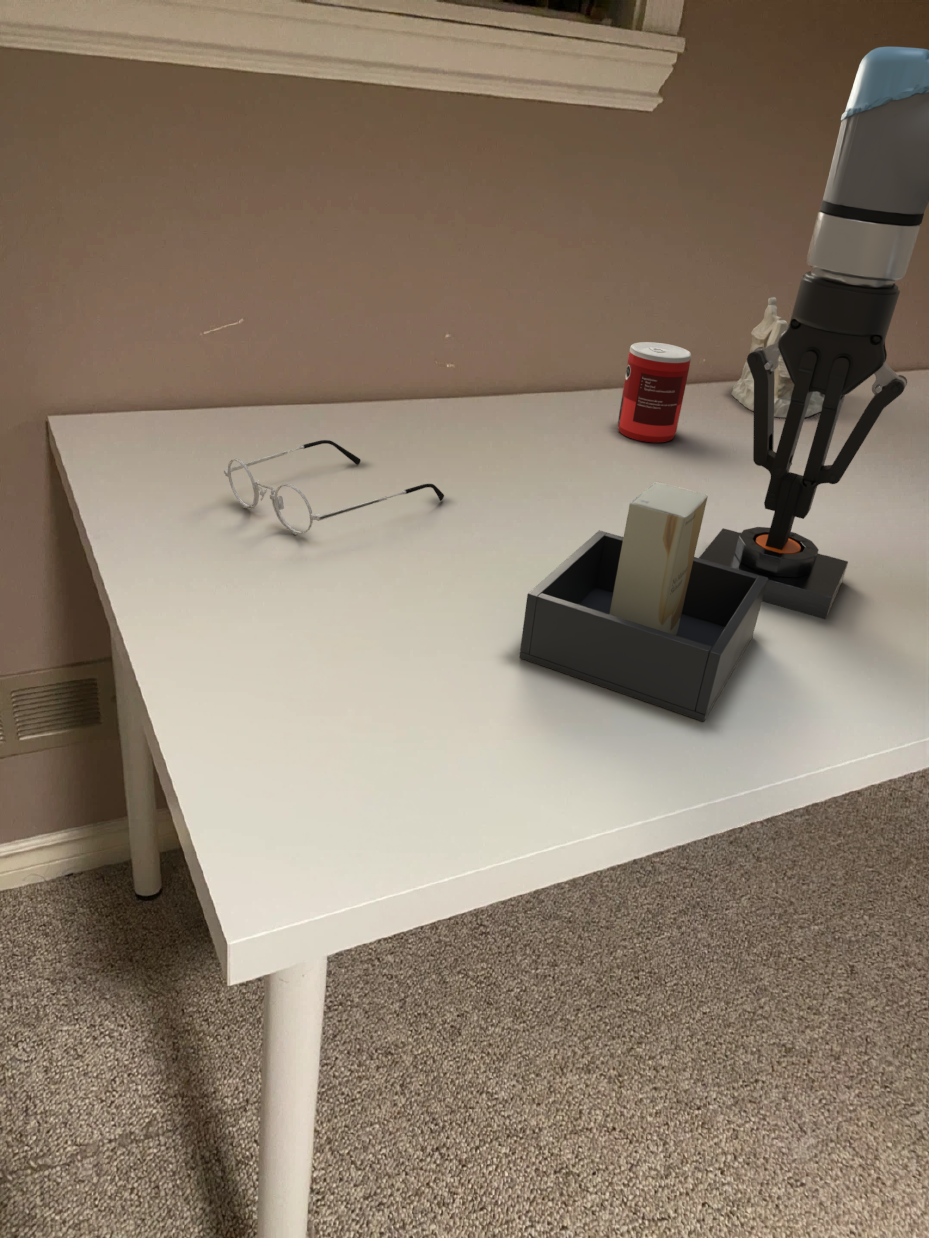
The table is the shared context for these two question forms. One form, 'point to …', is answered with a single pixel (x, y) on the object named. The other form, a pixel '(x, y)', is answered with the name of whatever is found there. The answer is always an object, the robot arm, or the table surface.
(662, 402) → the canned food
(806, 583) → the control block
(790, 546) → the button
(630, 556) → the cosmetic box
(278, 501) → the eyeglasses
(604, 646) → the bin
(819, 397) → the ceramic cottage
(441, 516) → the table surface
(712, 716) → the table surface
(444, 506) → the table surface
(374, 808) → the table surface
